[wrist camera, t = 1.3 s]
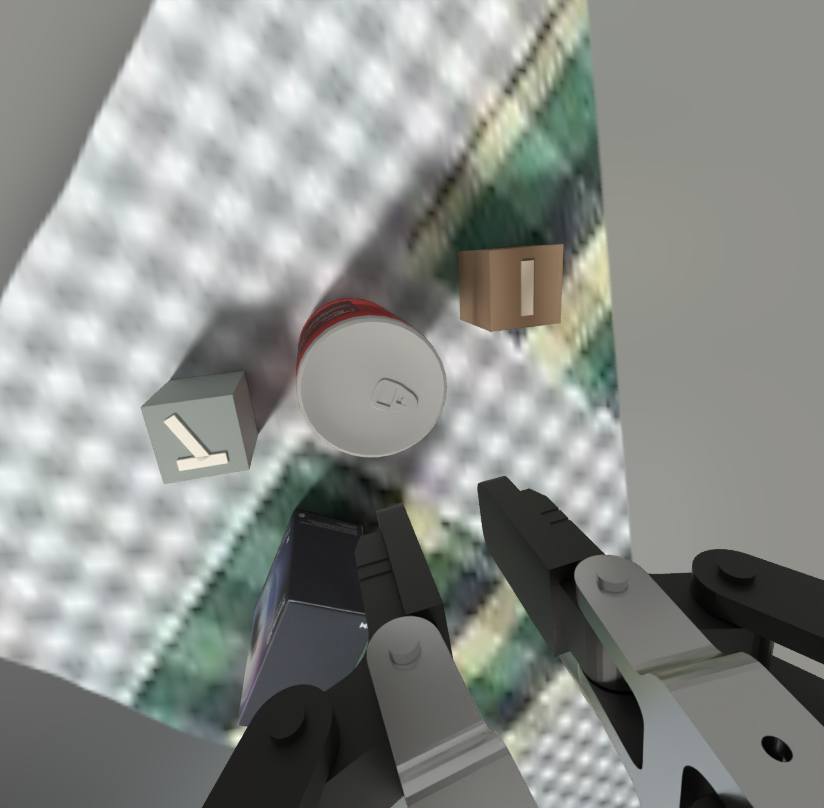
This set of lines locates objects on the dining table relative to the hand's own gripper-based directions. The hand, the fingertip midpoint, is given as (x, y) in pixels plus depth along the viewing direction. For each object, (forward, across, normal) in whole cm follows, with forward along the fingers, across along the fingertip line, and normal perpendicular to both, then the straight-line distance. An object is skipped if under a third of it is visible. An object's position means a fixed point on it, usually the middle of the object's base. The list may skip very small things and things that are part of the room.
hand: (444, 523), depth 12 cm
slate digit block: (+23, +11, +2) cm, 26 cm away
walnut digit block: (+23, -11, -3) cm, 26 cm away
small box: (+23, +8, +18) cm, 30 cm away
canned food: (+23, 0, 0) cm, 23 cm away
